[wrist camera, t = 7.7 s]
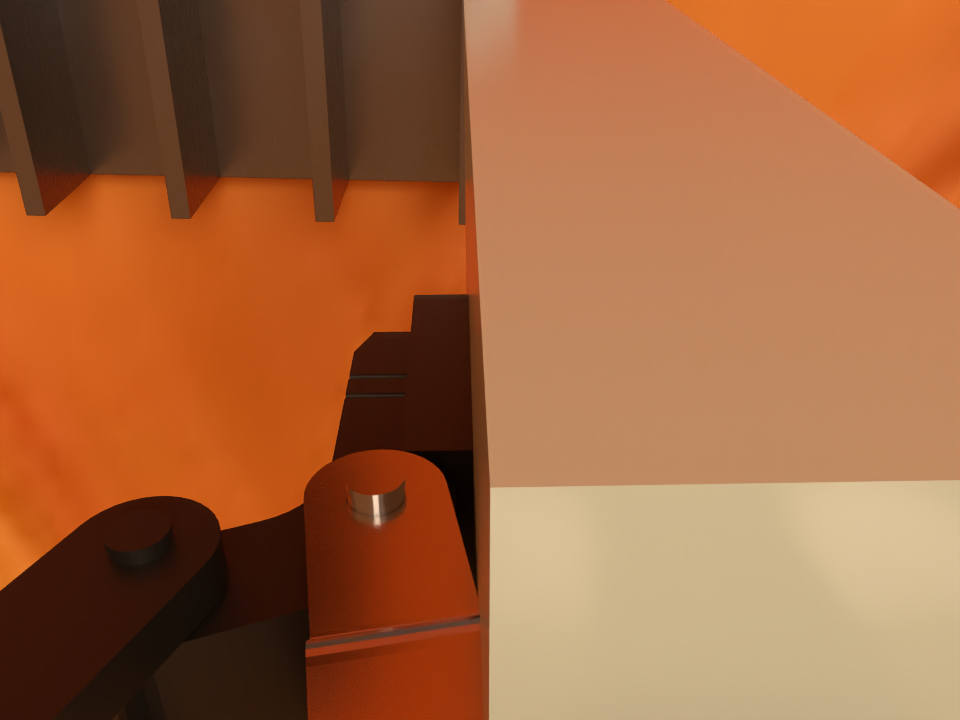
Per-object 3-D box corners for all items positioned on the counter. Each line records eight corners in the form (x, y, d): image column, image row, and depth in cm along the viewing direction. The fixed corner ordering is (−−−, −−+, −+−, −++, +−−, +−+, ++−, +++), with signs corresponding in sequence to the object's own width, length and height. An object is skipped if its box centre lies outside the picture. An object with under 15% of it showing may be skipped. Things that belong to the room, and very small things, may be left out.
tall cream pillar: (463, -2, 14) (491, 489, 3) (660, -4, 14) (1333, 475, 3) (467, 435, 18) (486, 1295, 7) (620, 432, 18) (862, 1282, 7)
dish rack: (-182, -231, 27) (-312, -243, 22) (518, -210, 27) (527, -217, 23) (-67, 159, 33) (-151, 211, 28) (503, 171, 33) (508, 225, 29)
